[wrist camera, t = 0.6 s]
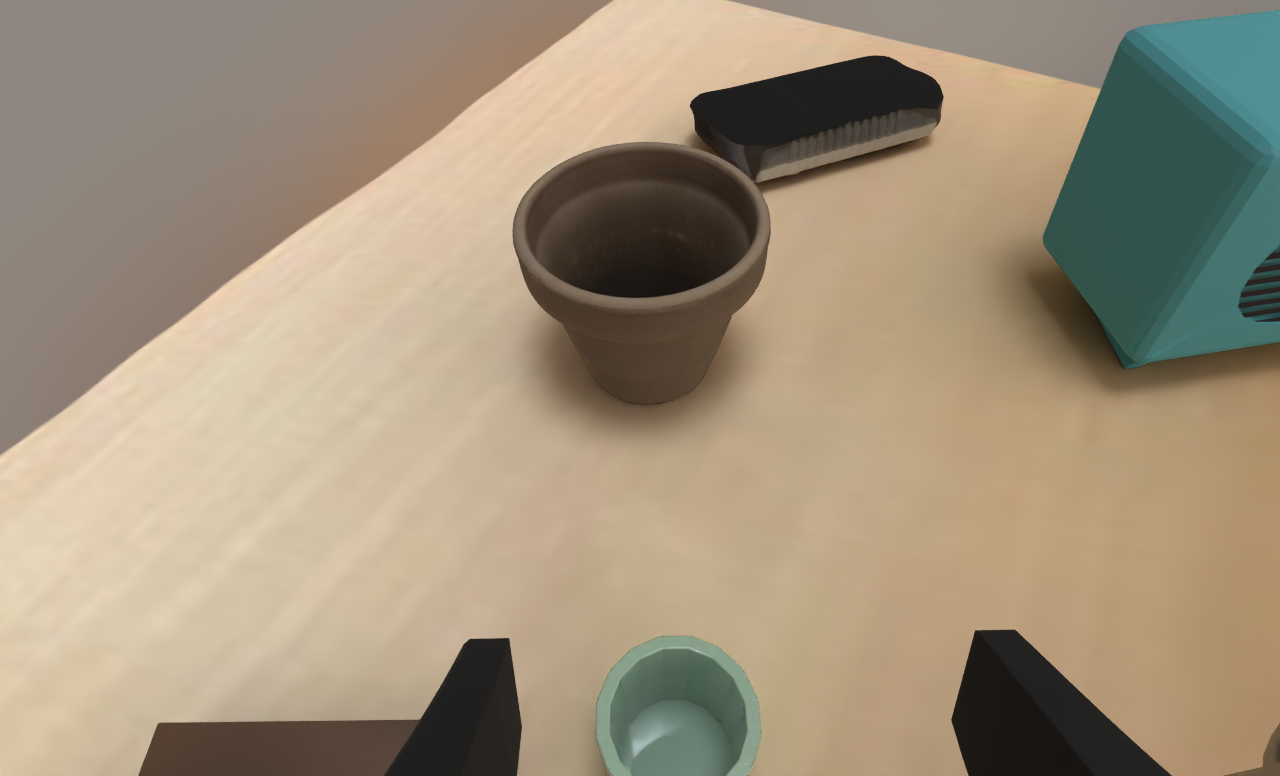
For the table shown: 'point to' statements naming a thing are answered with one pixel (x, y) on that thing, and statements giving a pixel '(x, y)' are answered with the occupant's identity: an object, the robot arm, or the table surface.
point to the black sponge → (817, 115)
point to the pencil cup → (677, 712)
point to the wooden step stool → (276, 748)
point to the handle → (1267, 759)
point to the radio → (1180, 191)
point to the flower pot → (643, 260)
